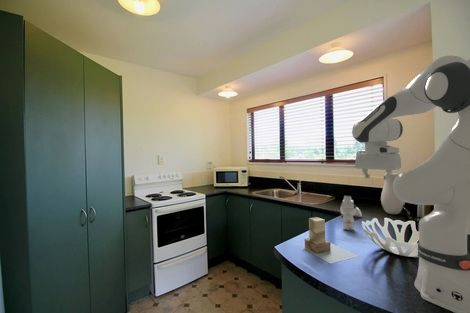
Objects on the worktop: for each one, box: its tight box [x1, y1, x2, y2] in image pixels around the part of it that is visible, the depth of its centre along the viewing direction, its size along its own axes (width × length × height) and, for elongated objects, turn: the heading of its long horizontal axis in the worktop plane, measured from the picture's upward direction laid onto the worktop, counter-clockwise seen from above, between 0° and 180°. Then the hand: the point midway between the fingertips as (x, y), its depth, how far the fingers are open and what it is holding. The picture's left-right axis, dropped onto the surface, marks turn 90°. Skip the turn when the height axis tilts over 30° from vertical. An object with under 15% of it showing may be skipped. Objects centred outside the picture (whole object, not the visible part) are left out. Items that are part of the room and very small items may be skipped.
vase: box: [380, 172, 405, 215], centre depth 162 cm, size 14×14×30 cm
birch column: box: [308, 216, 326, 243], centre depth 101 cm, size 5×5×10 cm
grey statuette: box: [341, 195, 356, 231], centre depth 129 cm, size 6×7×20 cm
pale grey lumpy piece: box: [339, 199, 362, 218], centre depth 157 cm, size 12×11×12 cm
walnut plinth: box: [304, 238, 331, 254], centre depth 101 cm, size 8×8×4 cm
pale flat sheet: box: [302, 242, 360, 264], centre depth 98 cm, size 18×16×1 cm
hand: (376, 179), depth 101 cm, fingers open, 8 cm apart
